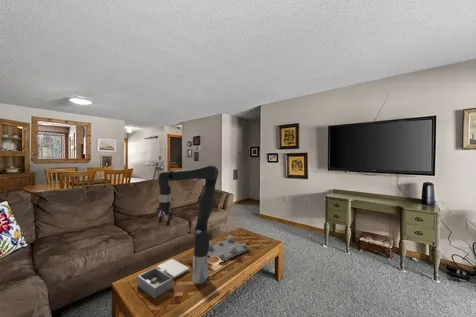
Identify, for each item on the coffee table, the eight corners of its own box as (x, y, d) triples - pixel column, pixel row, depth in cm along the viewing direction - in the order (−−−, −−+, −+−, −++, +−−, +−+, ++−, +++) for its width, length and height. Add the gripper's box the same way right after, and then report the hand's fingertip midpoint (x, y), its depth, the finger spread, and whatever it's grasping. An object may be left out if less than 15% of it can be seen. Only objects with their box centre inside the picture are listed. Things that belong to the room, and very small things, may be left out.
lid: (171, 261, 153) (172, 256, 153) (188, 270, 142) (189, 265, 142) (151, 271, 139) (151, 265, 139) (168, 282, 129) (169, 276, 128)
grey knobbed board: (219, 265, 152) (220, 252, 151) (199, 252, 170) (200, 240, 169) (250, 250, 177) (250, 239, 176) (229, 240, 195) (230, 230, 194)
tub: (155, 276, 134) (155, 267, 134) (172, 287, 124) (172, 278, 124) (137, 285, 125) (137, 275, 124) (154, 298, 114) (154, 288, 114)
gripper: (176, 201, 137) (175, 225, 138) (163, 197, 145) (162, 220, 146) (166, 203, 131) (165, 228, 132) (153, 199, 139) (152, 222, 140)
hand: (164, 224), depth 139 cm, fingers open, 8 cm apart
